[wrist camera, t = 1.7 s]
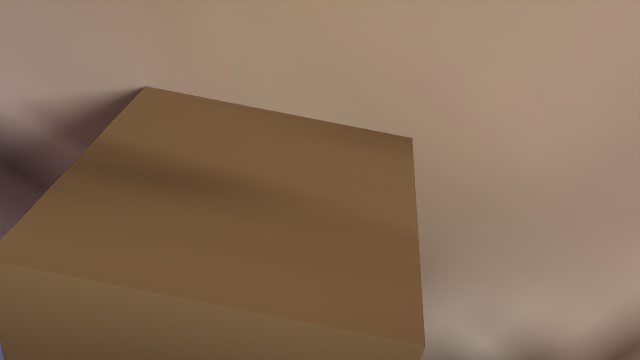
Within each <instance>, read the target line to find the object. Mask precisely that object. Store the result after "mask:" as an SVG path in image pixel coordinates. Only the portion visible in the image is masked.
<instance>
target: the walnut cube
mask: <svg viewBox="0 0 640 360" xmlns="http://www.w3.org/2000/svg"><path fill="white" fill-rule="evenodd" d="M0 341H1V346H2V351H3V355H4V360H420V358H421V355H422V353H423V350H424V348H425V336H424V320H423V304H422V288H421V272H420V256H419V241H418V225H417V209H416V193H415V177H414V161H413V145H412V138H408V137H403V136H398V135H393V134H388V133H383V132H377V131H372V130H367V129H362V128H357V127H352V126H347V125H341V124H336V123H331V122H326V121H321V120H316V119H311V118H305V117H300V116H295V115H290V114H285V113H280V112H275V111H269V110H264V109H259V108H254V107H249V106H244V105H239V104H233V103H228V102H223V101H218V100H213V99H208V98H203V97H198V96H192V95H187V94H182V93H177V92H172V91H167V90H162V89H156V88H151V87H146V86H145V87H144V88H143V89H142V90H141V92H140V93H139V94H138V95H137V96H136V97H135V98H134V99H133V100H132V101H131V102H130V103H129V104H128V105H127V106H126V107H125V108H124V110H123V111H122V112H121V113H120V114H119V115H118V116H117V117H116V118H115V119H114V120H113V121H112V122H111V123H110V124H109V125H108V127H107V128H106V129H105V130H104V131H103V132H102V133H101V134H100V135H99V136H98V137H97V138H96V139H95V140H94V141H93V142H92V143H91V145H90V146H89V147H88V148H87V149H86V150H85V151H84V152H83V153H82V154H81V155H80V156H79V157H78V158H77V159H76V160H75V162H74V163H73V164H72V165H71V166H70V167H69V168H68V169H67V170H66V171H65V172H64V173H63V174H62V175H61V176H60V177H59V178H58V180H57V181H56V182H55V183H54V184H53V185H52V186H51V187H50V188H49V189H48V190H47V191H46V192H45V193H44V194H43V195H42V197H41V198H40V199H39V200H38V201H37V202H36V203H35V204H34V205H33V206H32V207H31V208H30V209H29V210H28V211H27V212H26V214H25V215H24V216H23V217H22V218H21V219H20V220H19V221H18V222H17V223H16V224H15V225H14V226H13V227H12V228H11V229H10V230H9V232H8V233H7V234H6V235H5V236H4V237H3V238H2V239H1V240H0Z"/></svg>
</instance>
